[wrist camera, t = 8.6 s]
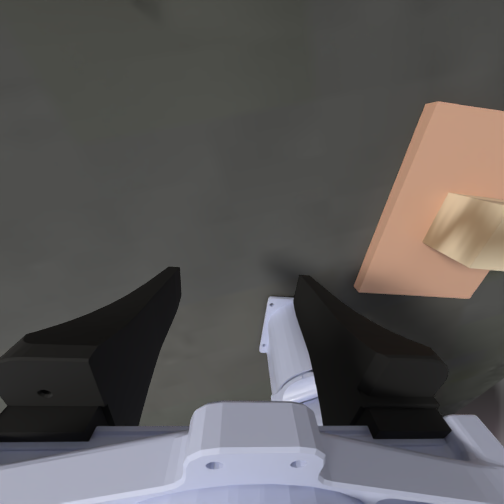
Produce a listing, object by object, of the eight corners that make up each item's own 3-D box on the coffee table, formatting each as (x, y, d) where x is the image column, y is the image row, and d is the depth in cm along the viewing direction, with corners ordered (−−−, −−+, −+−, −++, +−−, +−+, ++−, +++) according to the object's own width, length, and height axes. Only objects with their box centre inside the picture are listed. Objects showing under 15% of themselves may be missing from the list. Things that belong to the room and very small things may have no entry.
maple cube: (465, 246, 22) (523, 272, 17) (421, 242, 21) (469, 268, 17) (496, 198, 20) (571, 214, 15) (448, 192, 19) (511, 207, 15)
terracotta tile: (459, 292, 26) (469, 298, 25) (353, 285, 25) (358, 292, 24) (574, 126, 18) (594, 125, 17) (425, 104, 17) (437, 101, 16)
